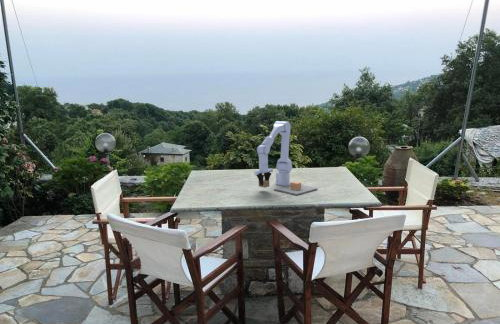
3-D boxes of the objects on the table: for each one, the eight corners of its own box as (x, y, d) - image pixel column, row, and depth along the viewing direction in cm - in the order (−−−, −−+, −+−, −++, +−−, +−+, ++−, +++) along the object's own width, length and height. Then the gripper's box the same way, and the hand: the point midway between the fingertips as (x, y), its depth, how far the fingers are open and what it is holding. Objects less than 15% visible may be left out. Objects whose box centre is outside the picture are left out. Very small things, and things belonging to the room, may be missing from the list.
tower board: (273, 190, 258) (273, 188, 258) (294, 185, 271) (294, 183, 270) (296, 195, 243) (296, 193, 243) (317, 189, 256) (317, 188, 255)
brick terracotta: (290, 188, 257) (290, 182, 257) (294, 187, 260) (294, 181, 259) (297, 189, 253) (297, 183, 252) (301, 188, 256) (301, 182, 255)
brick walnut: (258, 186, 257) (258, 180, 256) (263, 185, 259) (263, 179, 259) (264, 187, 252) (264, 181, 252) (269, 186, 255) (269, 180, 254)
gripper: (259, 165, 246) (259, 187, 248) (275, 162, 255) (276, 183, 257) (251, 164, 251) (252, 185, 253) (268, 161, 260) (268, 181, 262)
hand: (264, 184), depth 256 cm, fingers closed on brick walnut, 4 cm apart
